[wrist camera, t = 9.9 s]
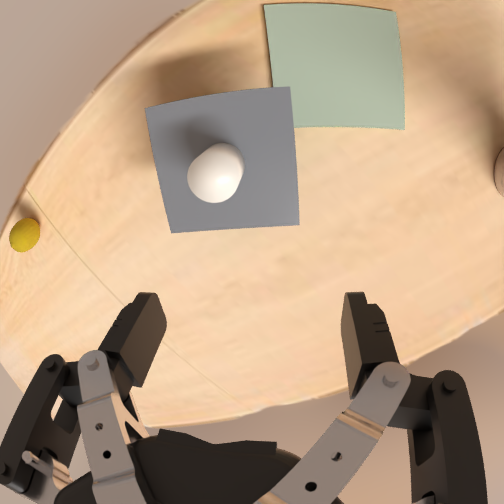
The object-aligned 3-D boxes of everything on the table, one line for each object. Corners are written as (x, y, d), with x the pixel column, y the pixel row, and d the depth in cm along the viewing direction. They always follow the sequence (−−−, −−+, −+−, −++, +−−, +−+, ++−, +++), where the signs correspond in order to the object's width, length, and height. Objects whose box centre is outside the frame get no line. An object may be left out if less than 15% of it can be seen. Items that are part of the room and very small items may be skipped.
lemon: (51, 226, 42) (24, 248, 35) (42, 242, 44) (17, 265, 37) (33, 205, 40) (5, 225, 33) (25, 222, 42) (0, 243, 35)
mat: (393, 12, 22) (395, 11, 21) (402, 129, 30) (404, 129, 29) (263, 6, 24) (263, 4, 23) (277, 128, 32) (277, 128, 31)
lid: (289, 86, 22) (292, 84, 17) (298, 220, 28) (302, 248, 24) (149, 107, 23) (121, 112, 19) (174, 228, 30) (156, 255, 25)
